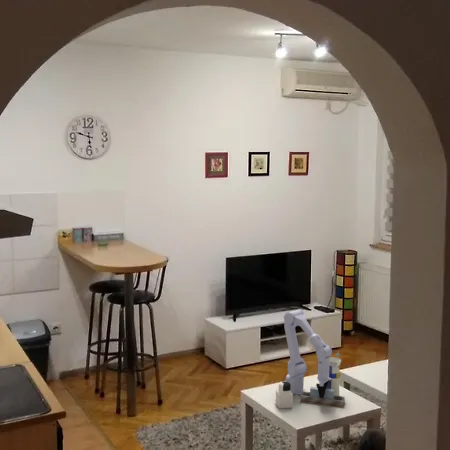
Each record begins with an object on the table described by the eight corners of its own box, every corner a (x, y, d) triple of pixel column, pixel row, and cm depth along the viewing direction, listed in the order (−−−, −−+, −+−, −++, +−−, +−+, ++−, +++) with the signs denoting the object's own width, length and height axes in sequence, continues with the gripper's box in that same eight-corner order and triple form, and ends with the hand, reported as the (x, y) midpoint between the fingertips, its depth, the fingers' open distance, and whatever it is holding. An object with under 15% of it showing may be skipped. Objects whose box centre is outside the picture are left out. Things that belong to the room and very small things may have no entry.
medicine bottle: (288, 402, 314) (289, 379, 312) (292, 408, 307) (293, 385, 305) (275, 402, 312) (276, 380, 311) (278, 408, 305) (279, 385, 304)
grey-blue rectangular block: (309, 399, 315) (310, 388, 315) (310, 397, 318) (311, 386, 317) (333, 402, 312) (333, 391, 311) (333, 400, 315) (334, 389, 314)
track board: (299, 401, 314) (300, 396, 314) (302, 396, 322) (302, 390, 322) (343, 407, 308) (343, 402, 308) (344, 401, 316) (344, 396, 315)
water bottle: (343, 394, 325) (345, 349, 322) (334, 399, 319) (336, 352, 316) (330, 390, 331) (332, 345, 328) (321, 394, 325) (323, 349, 322)
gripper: (329, 375, 305) (328, 401, 307) (333, 365, 319) (331, 390, 320) (315, 373, 307) (314, 399, 309) (319, 364, 321) (318, 388, 322)
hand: (322, 394), depth 315 cm, fingers open, 7 cm apart
